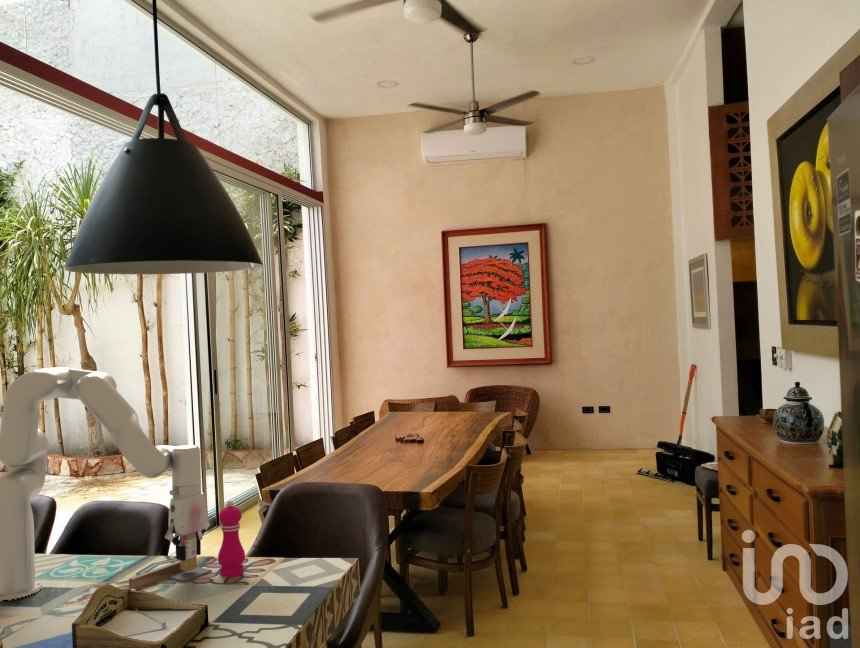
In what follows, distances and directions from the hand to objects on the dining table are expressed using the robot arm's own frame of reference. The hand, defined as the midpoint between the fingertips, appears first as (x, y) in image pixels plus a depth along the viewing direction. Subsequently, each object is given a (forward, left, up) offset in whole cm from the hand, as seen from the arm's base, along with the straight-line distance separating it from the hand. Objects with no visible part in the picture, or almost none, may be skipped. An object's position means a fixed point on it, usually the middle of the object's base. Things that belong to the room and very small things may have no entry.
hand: (188, 556), depth 189 cm
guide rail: (-4, -6, -5) cm, 9 cm away
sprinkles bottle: (0, 0, -4) cm, 4 cm away
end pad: (0, 0, -5) cm, 5 cm away
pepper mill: (+10, +6, -5) cm, 13 cm away
